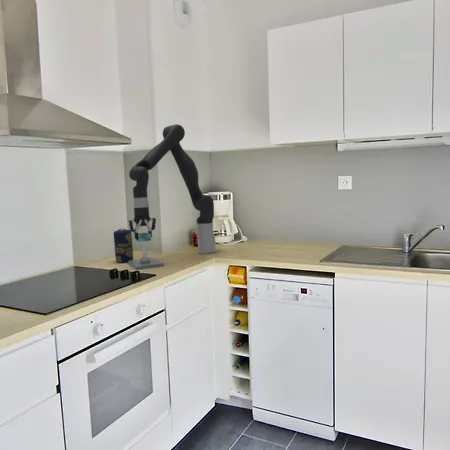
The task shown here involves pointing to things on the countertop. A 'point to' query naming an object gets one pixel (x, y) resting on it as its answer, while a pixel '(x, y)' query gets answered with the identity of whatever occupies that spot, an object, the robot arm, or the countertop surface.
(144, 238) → the collar
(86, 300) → the countertop surface
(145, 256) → the shaft stand
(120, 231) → the canister
